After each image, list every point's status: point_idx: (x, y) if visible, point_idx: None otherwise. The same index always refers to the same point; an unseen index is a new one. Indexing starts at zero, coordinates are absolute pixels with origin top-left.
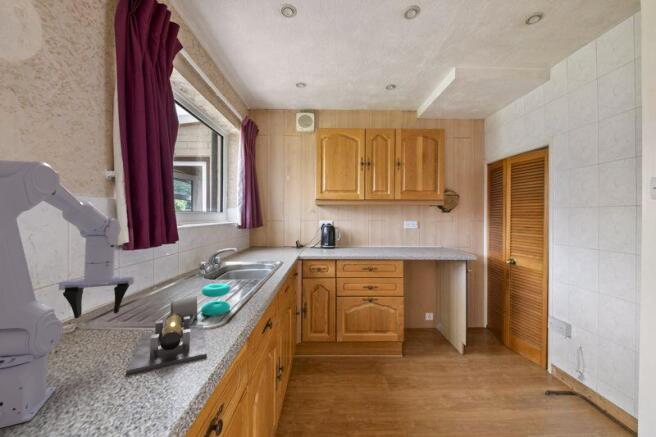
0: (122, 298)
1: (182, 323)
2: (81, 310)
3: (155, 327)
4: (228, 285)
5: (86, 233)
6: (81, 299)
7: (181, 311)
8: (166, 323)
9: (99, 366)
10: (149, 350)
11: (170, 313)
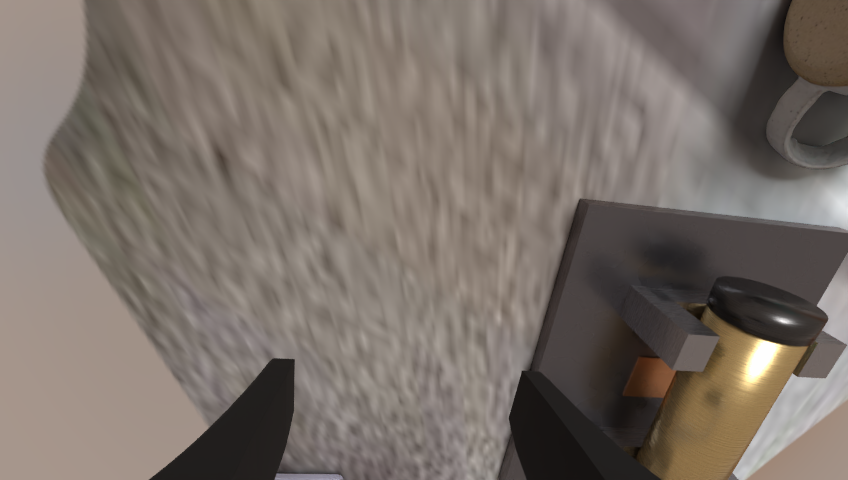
0: (616, 454)
1: (798, 164)
2: (283, 382)
3: (657, 353)
4: None
5: None
6: (239, 468)
7: None
8: (709, 411)
9: (428, 398)
10: (579, 403)
11: (830, 67)
